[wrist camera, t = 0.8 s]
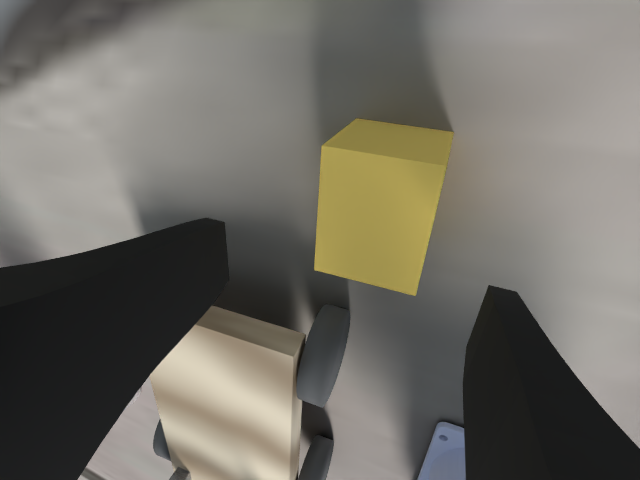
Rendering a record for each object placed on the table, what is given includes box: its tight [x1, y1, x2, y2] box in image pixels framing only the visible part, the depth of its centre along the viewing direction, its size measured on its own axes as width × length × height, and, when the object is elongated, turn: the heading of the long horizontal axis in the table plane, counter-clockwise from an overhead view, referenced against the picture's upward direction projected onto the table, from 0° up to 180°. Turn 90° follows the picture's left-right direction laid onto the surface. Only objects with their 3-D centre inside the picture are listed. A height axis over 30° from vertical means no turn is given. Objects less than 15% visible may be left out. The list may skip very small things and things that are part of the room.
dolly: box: [150, 304, 350, 480], centre depth 22 cm, size 17×12×10 cm
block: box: [314, 118, 454, 296], centre depth 15 cm, size 5×4×4 cm
